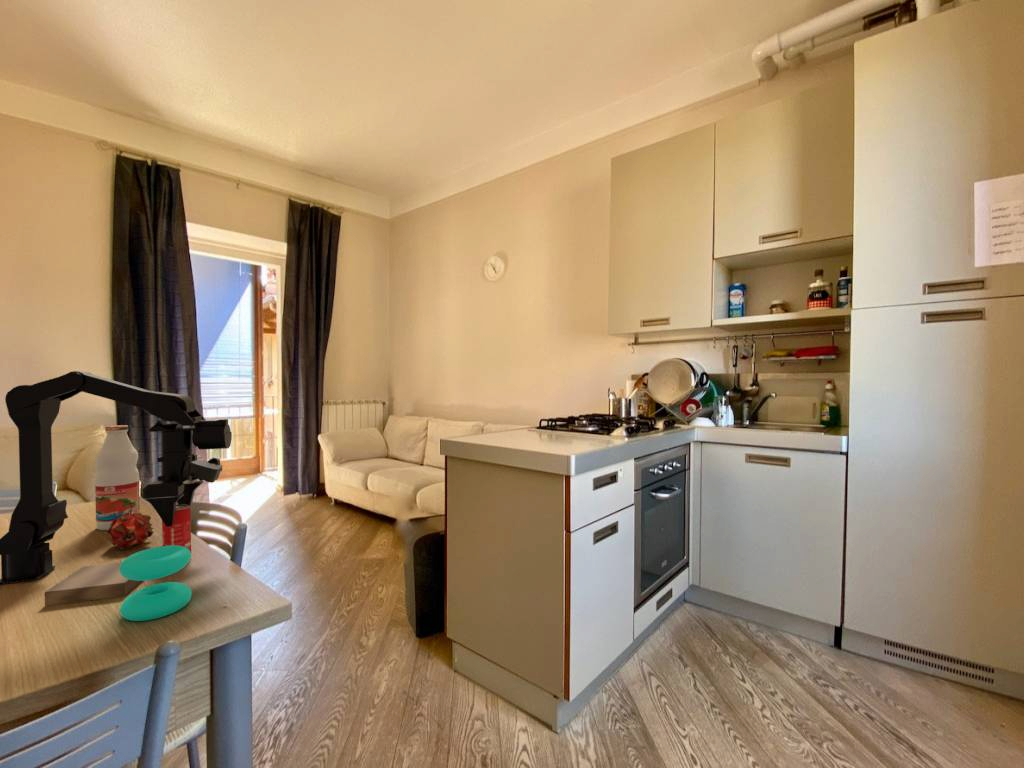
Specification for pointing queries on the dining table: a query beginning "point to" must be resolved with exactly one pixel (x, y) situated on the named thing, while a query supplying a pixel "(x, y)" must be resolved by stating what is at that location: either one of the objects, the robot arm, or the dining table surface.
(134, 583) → the walnut plinth
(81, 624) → the dining table surface
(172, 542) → the beverage can
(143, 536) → the dragon fruit
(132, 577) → the donuts
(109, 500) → the fruit juice
